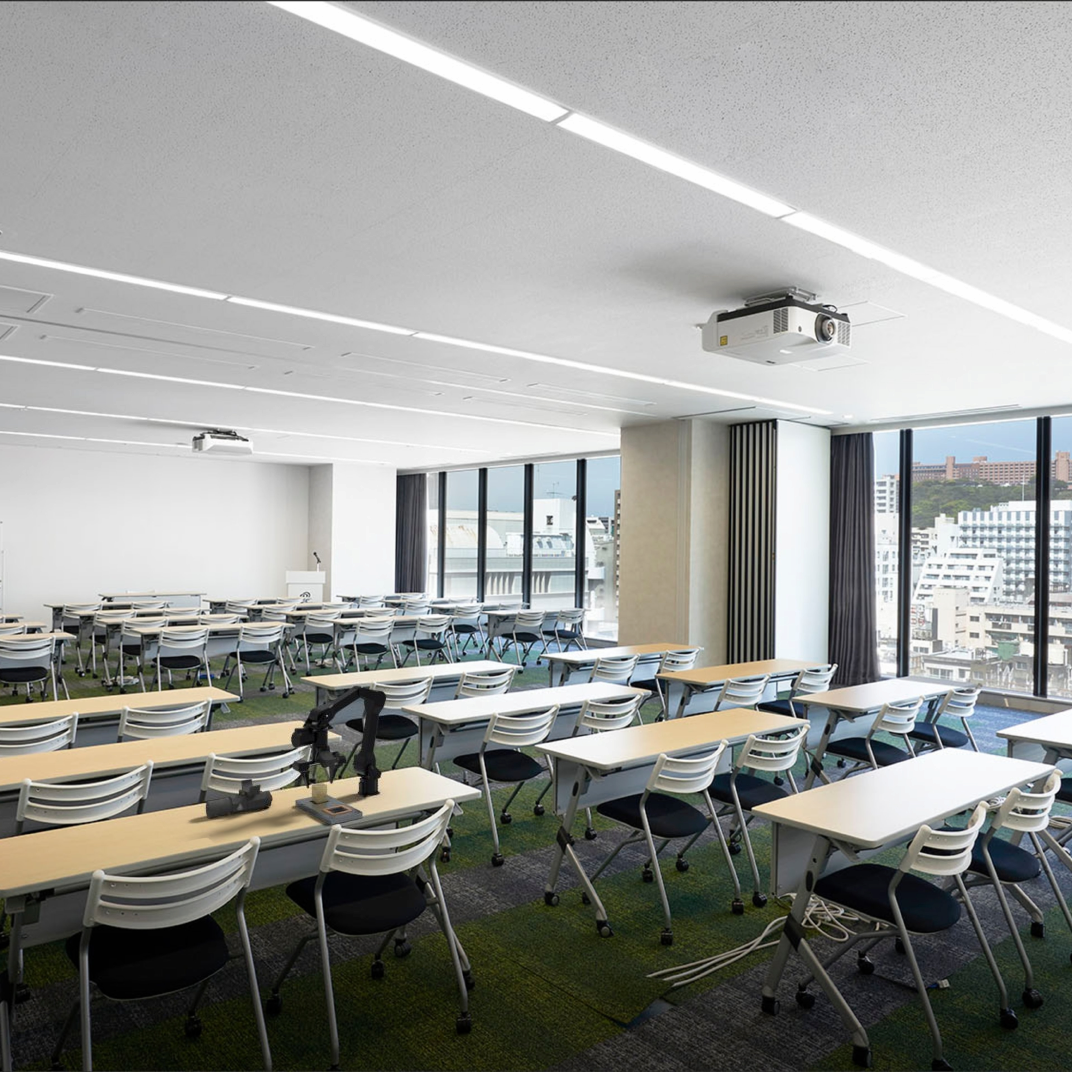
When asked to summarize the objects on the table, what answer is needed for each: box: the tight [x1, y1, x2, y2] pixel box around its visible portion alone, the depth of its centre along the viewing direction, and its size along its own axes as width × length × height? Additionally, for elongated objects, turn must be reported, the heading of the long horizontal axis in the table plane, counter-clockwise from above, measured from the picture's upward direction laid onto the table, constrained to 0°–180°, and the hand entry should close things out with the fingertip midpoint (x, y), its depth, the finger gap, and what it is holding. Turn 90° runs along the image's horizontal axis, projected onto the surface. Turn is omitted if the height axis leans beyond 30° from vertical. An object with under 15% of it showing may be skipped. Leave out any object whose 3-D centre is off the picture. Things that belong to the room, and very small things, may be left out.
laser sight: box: [205, 778, 273, 819], centre depth 302 cm, size 10×22×10 cm, turn 127°
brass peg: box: [311, 782, 328, 805], centre depth 308 cm, size 4×4×8 cm
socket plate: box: [294, 794, 364, 826], centre depth 302 cm, size 12×28×2 cm, turn 41°
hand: (319, 785), depth 308 cm, fingers open, 9 cm apart
